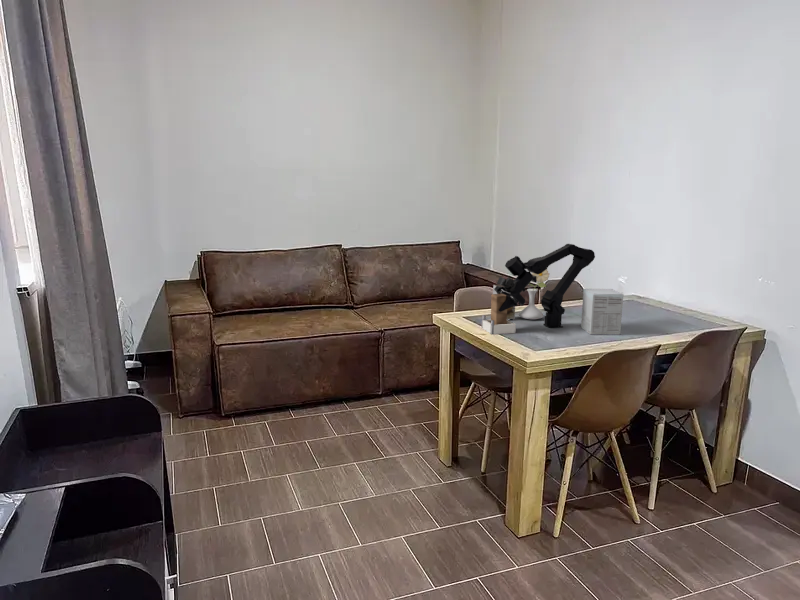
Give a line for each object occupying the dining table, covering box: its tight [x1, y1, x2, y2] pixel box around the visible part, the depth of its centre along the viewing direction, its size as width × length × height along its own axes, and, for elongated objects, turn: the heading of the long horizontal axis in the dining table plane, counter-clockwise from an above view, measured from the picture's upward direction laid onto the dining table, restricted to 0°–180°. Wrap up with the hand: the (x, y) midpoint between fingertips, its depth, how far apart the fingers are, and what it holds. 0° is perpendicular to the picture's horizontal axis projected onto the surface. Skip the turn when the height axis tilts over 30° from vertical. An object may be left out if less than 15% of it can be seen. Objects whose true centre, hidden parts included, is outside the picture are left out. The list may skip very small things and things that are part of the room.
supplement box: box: [580, 288, 625, 336], centre depth 258 cm, size 13×13×18 cm
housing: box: [481, 314, 517, 335], centre depth 258 cm, size 11×11×6 cm
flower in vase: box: [518, 268, 550, 320], centre depth 280 cm, size 13×11×25 cm
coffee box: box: [492, 284, 516, 320], centre depth 279 cm, size 9×6×16 cm
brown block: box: [490, 293, 507, 325], centre depth 257 cm, size 5×5×14 cm
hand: (496, 309), depth 257 cm, fingers closed on brown block, 5 cm apart
